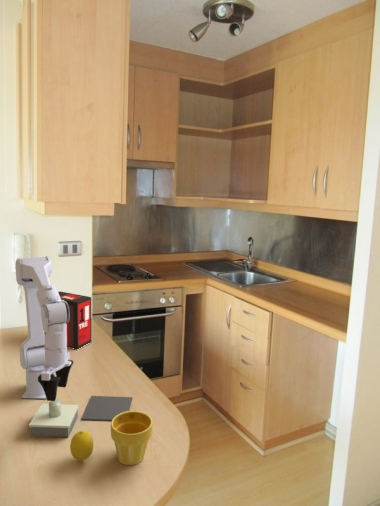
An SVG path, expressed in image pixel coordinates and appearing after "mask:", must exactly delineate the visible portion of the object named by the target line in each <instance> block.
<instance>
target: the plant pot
mask: <svg viewBox="0 0 380 506" xmlns="http://www.w3.org/2000/svg"><path fill="white" fill-rule="evenodd" d="M110 422H111V423H110V437H111V440H112V441H114V446H115V451H116V455H117V459H118V461H119V462H120V463H121V464H123V465H125V466H133V465H139V464H140V463H141V462H142V461H143V460H144V457H145V455H146V449H147V448H148V442H149V441H150V439H151V438H152V434H153V425H154V424H153V423H154V421H153V418H152V417H151V415H149V414H148V413H146V412H143V411H140V410H138V411H137V410H129V411H126V412H123V413H120V414H118V415H117V416H115V417H114V418H113V420H112V421H110Z"/></svg>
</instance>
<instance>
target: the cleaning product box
mask: <svg viewBox="0 0 380 506" xmlns="http://www.w3.org/2000/svg"><path fill="white" fill-rule="evenodd" d="M58 293H59V296H60V298H61V300H64V301H66V302H67V304H68V307H69V313H70V318H69V322H68V323H67V322H66V324H67V347H70V348H69V349H71V348H74V349H73V350H75V349H79V348H81V347H83V346H84V345H86V344H88V343H90V342H91V343H92V296H89V295H88V296H87V295H81V294H76V293H70V292H66V291H61V290H60V291H58ZM91 343H90V344H91ZM88 345H89V344H88ZM86 346H87V345H86ZM83 348H84V347H83ZM81 349H82V348H81ZM79 350H80V349H79Z"/></svg>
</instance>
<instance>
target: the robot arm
mask: <svg viewBox="0 0 380 506" xmlns="http://www.w3.org/2000/svg"><path fill="white" fill-rule="evenodd" d="M14 266H15V277H16V278H15V280H16V282H17V285H19V286H22V287H23V290H24V297H25V309H26V310H25V311H26V321H27V322H26V324H27V332H28V335H27V336H28V337H27V338H26V339H24V340H23V342H21V344H20V346H19V362H20V366H21V368H22V369H23V370H25V382H26V386H25V387H26V388H25V391H24V393H23V394H22V395H21V398H22V399H41V400H45V399H46V401H47V402H51V401H55V400H57V393H58V388H66V387H67V384H68V380H69V379H68V378H69V374H70V372H71V368H72V366H73V365H74V360H72V359H70V351H68V348H67V324H66V322H67V323H68V322H69V318H70V313H69V307H68V304H67V302H66V301H64V300H61V298H60V296H59V293H58V292H59V291H58V289H57V287H56V286H55V285H52V284H51V281H50V276H51V274H52V271H53V269H52V268H53V267H52V260H51V259H50V257H49V256H42V257H38V256H37V257H28V258H21V257H17V259H16V260H15V265H14Z"/></svg>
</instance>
